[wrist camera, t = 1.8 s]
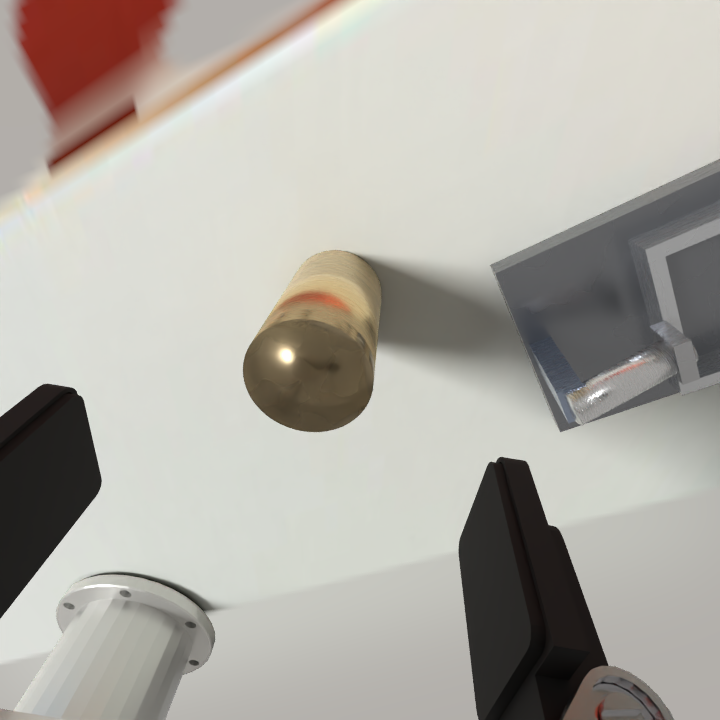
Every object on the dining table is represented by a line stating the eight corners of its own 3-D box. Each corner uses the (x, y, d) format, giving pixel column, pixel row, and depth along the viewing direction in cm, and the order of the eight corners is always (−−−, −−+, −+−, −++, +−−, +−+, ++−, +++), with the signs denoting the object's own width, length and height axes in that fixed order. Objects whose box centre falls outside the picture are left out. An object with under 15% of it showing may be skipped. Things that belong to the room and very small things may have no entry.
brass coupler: (374, 341, 23) (363, 440, 16) (289, 328, 23) (242, 421, 16) (388, 258, 21) (383, 331, 14) (295, 243, 21) (243, 309, 14)
